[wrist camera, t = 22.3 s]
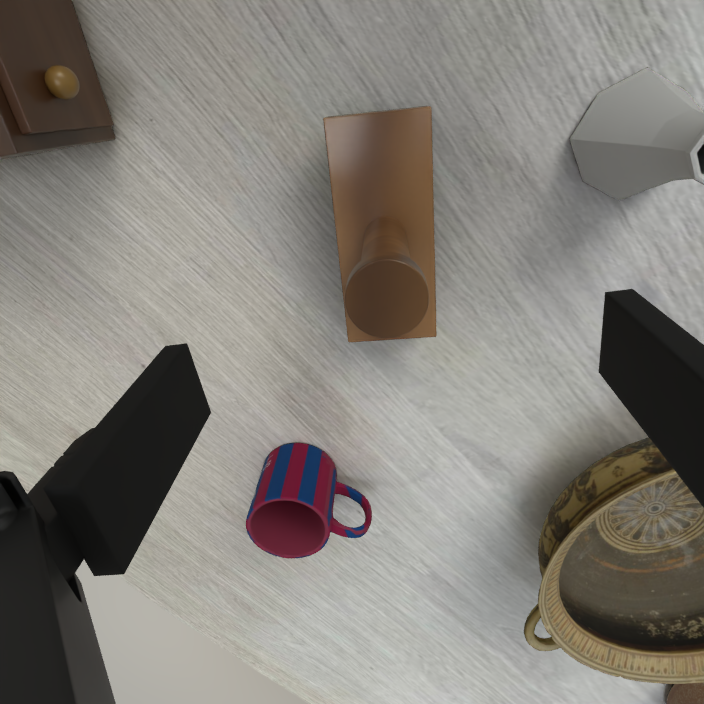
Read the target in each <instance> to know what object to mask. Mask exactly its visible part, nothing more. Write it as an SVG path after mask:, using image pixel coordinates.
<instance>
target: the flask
mask: <svg viewBox="0 0 704 704" xmlns="http://www.w3.org/2000/svg"><path fill="white" fill-rule="evenodd" d="M570 142H571V145H572V148H573V152H574V155H575V158H576V161H577V164H578V168H579V171H580V174H581V177H582V181H583V182H585V183H587V184H589V185H591V186H592V187H594V188H596V189H598V190H600V191H602V192H603V193H605V194H607V195H609V196H611V197H613V198H615V199H616V200H618V201H619V200H622V199H625V198H628V197H630V196H632V195H635V194H637V193H640V192H642V191H645V190H647V189H650V188H653V187H656V186H659V185H661V184H664V183H667V182H670V181H673V180H683V179H694V180H696V181H698V182H700V183H701V184H703V185H704V111H703V110H702V109H701V108H700V107H699V106H698V104H697V103H696V102H695V101H694V99H693V98H692V97H691V95H690V94H689V93H688V92H687V91H686V90H684V89H683V88H681V87H679V86H678V85H676V84H674V83H673V82H671V81H669V80H668V79H666V78H664V77H663V76H661V75H660V74H658V73H656V72H655V71H653V70H651V69H650V68H648V67H647V68H645V69H643V70H641V71H639V72H637V73H636V74H634V75H632V76H630V77H628V78H626V79H624V80H622V81H620V82H618V83H616V84H615V85H613V86H611V87H609V88H607V89H605V90H603V91H601V92H599V93H598V95H597V96H596V98H595V99H594V101H593V103H592V104H591V106H590V107H589V109H588V111H587V112H586V114H585V115H584V117H583V119H582V120H581V122H580V123H579V125H578V127H577V128H576V130H575V131H574V133H573V134H572V136H571V138H570Z"/></svg>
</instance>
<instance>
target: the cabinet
mask: <svg viewBox="0 0 704 704" xmlns="http://www.w3.org/2000/svg"><path fill="white" fill-rule="evenodd" d="M113 125H114V124H113V121H112V118H111V115H110V112H109V109H108V106H107V103H106V100H105V97H104V95H103V92H102V89H101V86H100V83H99V80H98V77H97V74H96V71H95V68H94V65H93V62H92V59H91V56H90V53H89V50H88V48H87V45H86V42H85V39H84V36H83V33H82V30H81V27H80V24H79V21H78V18H77V15H76V12H75V9H74V6H73V3H72V1H71V0H0V160H3V159H8V158H14V157H19V156H25V155H31V154H36V153H42V152H47V151H53V150H59V149H64V148H70V147H75V146H81V145H87V144H92V143H98V142H103V141H109V140H115V136H114V133H113V130H112V127H111V126H113Z"/></svg>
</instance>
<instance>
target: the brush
mask: <svg viewBox="0 0 704 704" xmlns="http://www.w3.org/2000/svg"><path fill="white" fill-rule="evenodd" d="M323 120H324V129H325V138H326V147H327V156H328V165H329V174H330V183H331V192H332V201H333V210H334V218H335V227H336V236H337V245H338V254H339V263H340V272H341V281H342V290H343V299H344V308H345V317H346V326H347V335H348V342H361V341H376V340H392V339H407V338H423V337H436V293H435V249H434V204H433V159H432V115H431V107H430V106H422V107H413V108H403V109H394V110H385V111H375V112H366V113H357V114H347V115H338V116H329V117H325V118H324V119H323Z"/></svg>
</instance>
